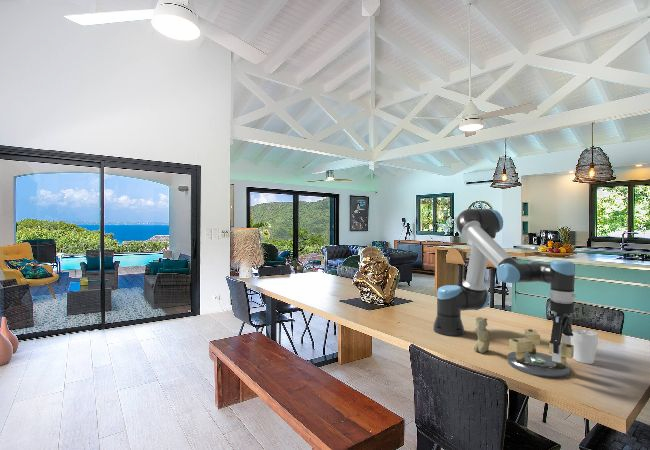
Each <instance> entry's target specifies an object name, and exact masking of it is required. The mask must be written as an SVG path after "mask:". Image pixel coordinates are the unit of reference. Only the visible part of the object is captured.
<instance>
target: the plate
mask: <svg viewBox="0 0 650 450" xmlns="http://www.w3.org/2000/svg"><path fill="white" fill-rule="evenodd" d="M507 363H508V365H509V366H511V367H512V368H514V369H515V370H517V371H519V372H521V373H525V374H527V375H530V376H535V377H540V378H547V379H563V378H567V377H568V376H569V375H570V365H569V364H568V363H567V362H566V368H565V369H563V368H558V367H557V366H556V362H555V361H552V355H551V354H547V353H541V352H537V351H536V354H529V353H528V352H525V363H524V364H520V363H517V362H516V352H514V351H511V352H509V353H508V354H507ZM562 377H563V378H562Z"/></svg>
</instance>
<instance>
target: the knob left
mask: <svg viewBox="0 0 650 450" xmlns="http://www.w3.org/2000/svg"><path fill="white" fill-rule="evenodd" d="M508 349H509V350H510V351H511V352H516V362H517V363H520V364H524V363H525V352H531V351H532V341H531V340H528V339H526V338H525V337H518V338H517V337H515V338H509V339H508Z"/></svg>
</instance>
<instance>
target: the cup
mask: <svg viewBox="0 0 650 450" xmlns="http://www.w3.org/2000/svg"><path fill="white" fill-rule="evenodd" d="M572 333H573V336H571V345H574V356H573V357H572V358H573V360H574V361H576V362H578V363H580V364H587V365H591V364H594V363H595V358H596V353H597V347H598V344H599V343H598V342H599V339H598V336H599V335H598V333H597V332H595V331H593V330H589V329H582V328H572Z"/></svg>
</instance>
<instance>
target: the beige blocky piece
mask: <svg viewBox="0 0 650 450" xmlns="http://www.w3.org/2000/svg"><path fill="white" fill-rule="evenodd" d="M524 338H526V339H528V340H531V341H532V351H531V352H528V353H529V354H536V352H537V346H540V345H541V335H540V334H539V332H537V330H536V329H531V328H527V329H524Z"/></svg>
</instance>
